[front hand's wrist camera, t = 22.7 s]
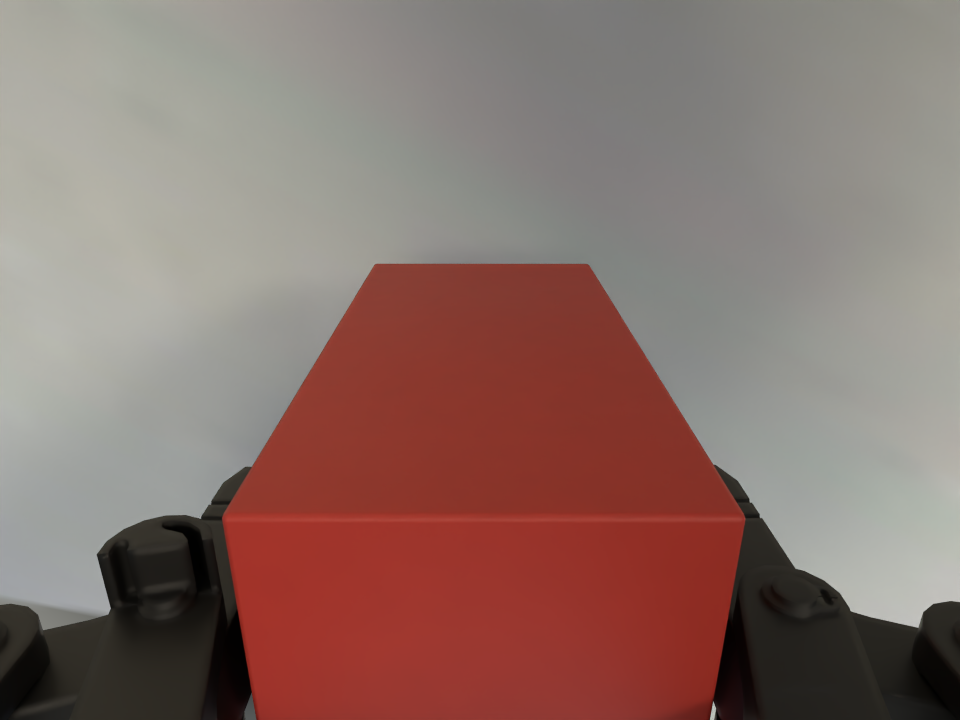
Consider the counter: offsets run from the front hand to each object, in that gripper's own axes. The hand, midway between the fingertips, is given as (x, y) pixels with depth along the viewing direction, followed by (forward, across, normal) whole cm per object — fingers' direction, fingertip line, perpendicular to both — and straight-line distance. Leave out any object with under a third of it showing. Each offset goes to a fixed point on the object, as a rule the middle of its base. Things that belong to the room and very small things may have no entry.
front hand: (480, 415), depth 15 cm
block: (+1, 0, 0) cm, 1 cm away
